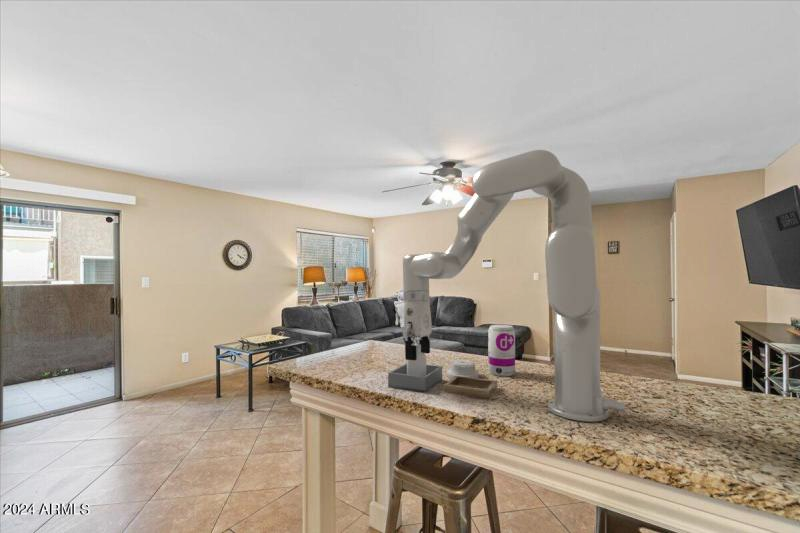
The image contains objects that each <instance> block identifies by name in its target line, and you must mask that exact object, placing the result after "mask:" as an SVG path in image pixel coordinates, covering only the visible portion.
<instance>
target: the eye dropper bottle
mask: <svg viewBox="0 0 800 533" xmlns="http://www.w3.org/2000/svg"><path fill="white" fill-rule="evenodd" d="M415 345H416V353H417V359H416V360H406V363H407V375H414V376H421V377H425V376H426V365H427V355H426V353H422V352H421V344H419V339H416V342H415Z"/></svg>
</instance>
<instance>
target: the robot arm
mask: <svg viewBox="0 0 800 533" xmlns="http://www.w3.org/2000/svg"><path fill="white" fill-rule="evenodd" d="M471 186H472V191H473V192H474V193H473V195H472V196H471V197H470V199H468V202H467V203H466V204H465V205H464V206H463V207H462V209H461V210H460V212H459V213H458V215H457V219H456V221H457V222H456V223H457V231H456V232H457V233H456V236H455V238H454V240H453V241H452V243H451V244H450V246H449V247H448V249H447V250H446V251H445V252H442V251H441V252H440V251H433V252H432V251H431V252H426V253H423V254H421V253H418V254H417V253H414V254H413V253H411V254H407V255H404V256H403V258H402V281H403V282H402V284H403V303H404V312H403V313H404V314H403V329H402V337H403V338H402V339H403V342H404V343H403V344H404V352H405V353H404V354H405V355H404V356H405V357H404V358H405V360H406V361H407V360H416V359H417V353H416V345H415V342H416V340H418V343H419V344H421V352H422V353H424V354H430V353H431V341H430V339H431V336H430V335H431V334H432V332H433V325H432V310H431V306H430V304H431V303H430V298H431V297H430V279H431V280H445V279H448V280H449V279H453V278H455V277H456V276H458V275H459V274H460V273H461V272H462V271H463V270H464V269H465V267H466V266H467V265H468V263H469V262H470V260H471V259H472V258H473V257H474V255H475V253H476V251H477V250H478V247H479V246H480V243H481V241H482V238H483V236H484V234H485V233H486V232H487V230H488V229H489V227H490V226H491V225H492V224H493V223H494V221H495V220H496V219H497V217H498V216H499V215H500V214H501V213H502V212H503V210H504V209H505V208H506V207H507V205H508V204H509V202H510V201H511V200H512V198H513V197H514V195H515V193H519V192H520V193H521V192H524V191H529V190H531V191H532V192H533V193H534V194H535V193H536V194H537V195H540V196H544V197H547V198H548V200H549V201H550V206H551V208H550V209H551V210H550V212H551V220H552V222H551V223H552V224H551V225H552V226H551V227H552V231H551V232H550V233H549V234H548V236H547V238H546V240H545V247H544V256H545V277H546V290H547V291H546V293H547V294H546V295H547V299H548V303H549V306H550V307H551V308H552V310H553V311H554V322H553V324H554V326H553V327H554V329H553V330H554V331H553V332H554V334H553V336H554V338H553V340H554V342H553V343H554V344H553V345H554V347H553V348H554V350H553V351H554V352H553V353H554V355H553V356H554V357H553V358H554V360H553V361H554V363H553V364H554V365H553V366H554V398H552V399H549V400H548V401H547V408H548V409H549V411H550V412H551V413H553V414H555V415H557V416H559V417H562V418H564V419H569V420H573V421H579V422H592V423H593V422H594V423H595V422H601V421H604V420H607V419H608V418H610V417H609V416H610V413H609V412H610V410H613V411H615V412H623V413H625V412H626V403H625V402H623V401H618V398H616V399H615V398H608V397H607V398H606V396H603V391H602V390H601V292H600V288H599V287H598V285H597V267H596V264H597V263H596V249H597V243H596V239H595V234H594V223H593V212H592V211H593V210H592V202H591V194H590V191H589V188H588V185H587V183H586V181H585V180H584V178H582V177H581V176H580V175H579V174H578V173H577V172H575V171H574V170H572V169H569V168H567V167H565V166H563V165H562V164H561V162H560V160H559V158H558V157H557V156H556V155H555V153H552V152H551V151H548V150H545V149H535V150H530V151H527V152H524V153H519V154H516V155H513V156H510V157H506V158H502V159H499V160H496V161H493V162H491V163H488V164H485V165H483V166H482V167H481V168H479V169H478V170H477V171H476V173H475V174H474V175H473V178H472V181H471ZM419 338H420V339H419Z"/></svg>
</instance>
